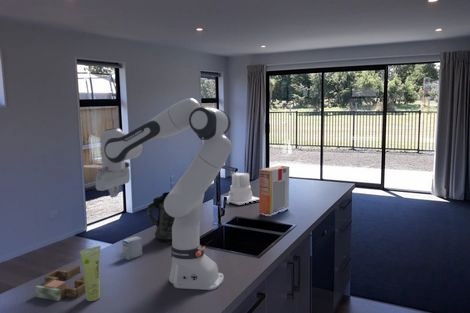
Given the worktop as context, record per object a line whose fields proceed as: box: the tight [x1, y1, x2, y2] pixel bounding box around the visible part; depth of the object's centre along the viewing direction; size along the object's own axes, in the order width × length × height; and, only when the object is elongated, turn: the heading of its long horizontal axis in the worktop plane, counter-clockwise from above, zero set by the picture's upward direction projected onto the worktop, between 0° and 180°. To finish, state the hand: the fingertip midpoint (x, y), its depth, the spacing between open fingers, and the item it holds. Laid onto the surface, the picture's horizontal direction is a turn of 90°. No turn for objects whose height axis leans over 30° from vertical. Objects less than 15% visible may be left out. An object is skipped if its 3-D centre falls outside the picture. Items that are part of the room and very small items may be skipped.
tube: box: [79, 245, 101, 302], centre depth 142 cm, size 6×5×20 cm
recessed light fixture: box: [225, 172, 260, 206], centre depth 290 cm, size 25×22×21 cm
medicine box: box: [122, 236, 143, 261], centre depth 183 cm, size 8×4×9 cm, turn 141°
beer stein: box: [146, 191, 175, 245], centre depth 206 cm, size 16×19×25 cm
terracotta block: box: [45, 280, 67, 289], centre depth 147 cm, size 5×5×4 cm
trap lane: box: [34, 264, 86, 302], centre depth 154 cm, size 21×23×4 cm
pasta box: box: [258, 165, 290, 215], centre depth 259 cm, size 23×8×30 cm, turn 140°
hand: (113, 196), depth 171 cm, fingers closed
